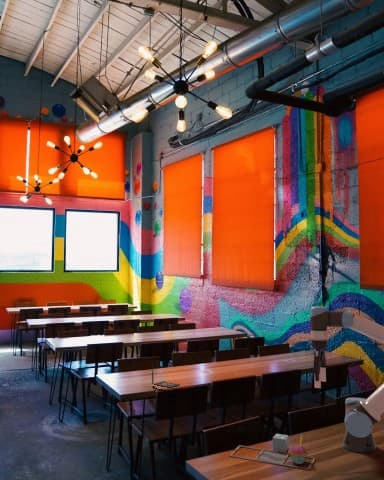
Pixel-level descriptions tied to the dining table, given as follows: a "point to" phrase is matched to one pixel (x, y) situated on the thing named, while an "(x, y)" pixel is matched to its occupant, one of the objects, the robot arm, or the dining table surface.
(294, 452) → the cupcake
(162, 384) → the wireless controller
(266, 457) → the board
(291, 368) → the dining table surface
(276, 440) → the grey cube
